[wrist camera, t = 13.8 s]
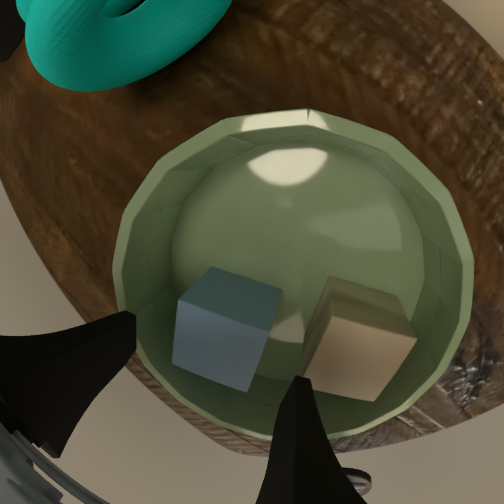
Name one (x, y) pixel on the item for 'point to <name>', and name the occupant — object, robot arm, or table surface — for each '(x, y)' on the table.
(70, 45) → the donuts
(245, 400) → the green shallow bowl
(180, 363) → the blue block
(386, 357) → the brown block
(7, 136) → the table surface
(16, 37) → the vase
